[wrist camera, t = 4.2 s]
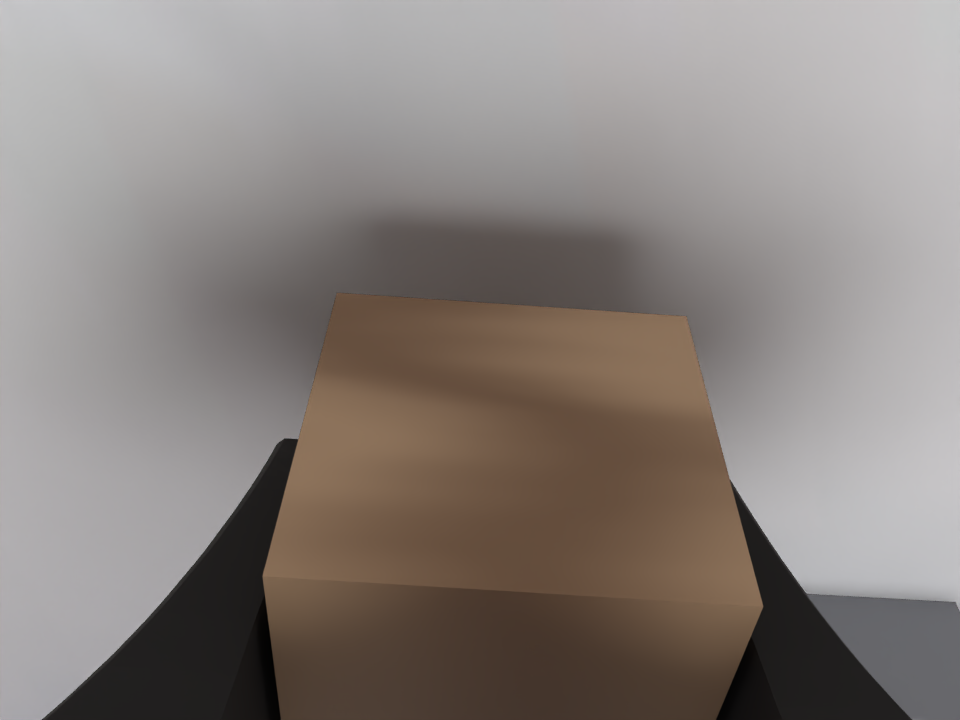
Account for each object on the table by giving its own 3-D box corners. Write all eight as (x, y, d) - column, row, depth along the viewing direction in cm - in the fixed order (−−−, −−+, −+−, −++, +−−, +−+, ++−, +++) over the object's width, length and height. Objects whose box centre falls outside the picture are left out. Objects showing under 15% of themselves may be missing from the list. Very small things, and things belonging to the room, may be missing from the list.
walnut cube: (345, 528, 16) (293, 815, 12) (336, 293, 13) (261, 576, 9) (628, 545, 16) (667, 836, 12) (685, 316, 13) (763, 605, 9)
